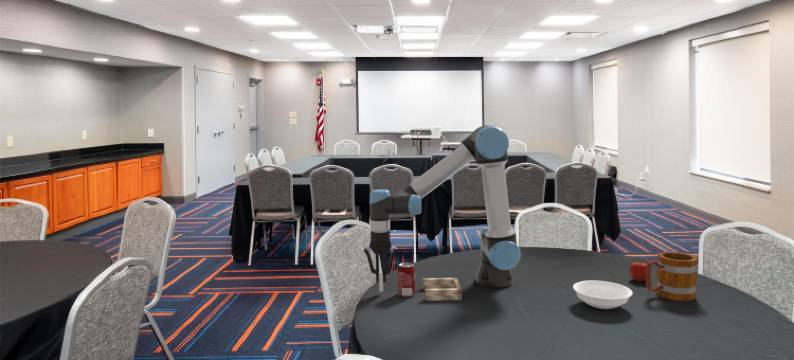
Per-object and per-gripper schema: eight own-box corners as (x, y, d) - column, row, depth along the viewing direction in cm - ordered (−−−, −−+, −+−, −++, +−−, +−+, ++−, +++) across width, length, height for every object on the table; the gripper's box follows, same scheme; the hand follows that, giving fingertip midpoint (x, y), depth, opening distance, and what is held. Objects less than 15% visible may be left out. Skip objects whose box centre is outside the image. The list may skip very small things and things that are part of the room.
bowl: (634, 320, 170) (635, 301, 170) (571, 312, 177) (572, 295, 176) (629, 299, 189) (630, 283, 188) (572, 293, 196) (573, 277, 195)
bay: (456, 287, 204) (456, 277, 204) (461, 299, 190) (461, 289, 190) (423, 288, 204) (422, 278, 204) (425, 300, 190) (425, 290, 190)
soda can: (413, 298, 193) (413, 267, 191) (396, 297, 194) (395, 266, 192) (416, 292, 199) (416, 262, 198) (399, 291, 201) (399, 261, 199)
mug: (678, 287, 201) (680, 250, 199) (704, 299, 188) (707, 260, 186) (633, 291, 197) (635, 253, 196) (657, 303, 184) (659, 263, 182)
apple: (651, 284, 206) (652, 265, 205) (630, 282, 208) (631, 263, 207) (648, 278, 213) (649, 260, 212) (628, 276, 215) (629, 258, 214)
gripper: (397, 227, 197) (397, 286, 200) (363, 228, 197) (364, 287, 200) (397, 232, 190) (398, 293, 193) (362, 232, 190) (363, 293, 193)
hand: (381, 290), depth 197 cm, fingers closed
